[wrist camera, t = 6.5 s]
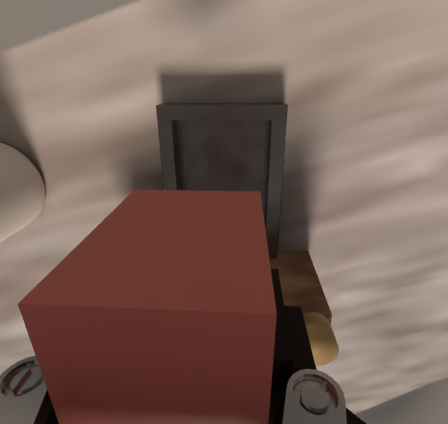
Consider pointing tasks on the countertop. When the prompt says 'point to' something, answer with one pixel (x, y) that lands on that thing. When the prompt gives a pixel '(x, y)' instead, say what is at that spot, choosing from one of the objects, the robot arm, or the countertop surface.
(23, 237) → the countertop surface
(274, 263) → the door board
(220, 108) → the tray
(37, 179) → the milk bottle
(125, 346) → the red block
